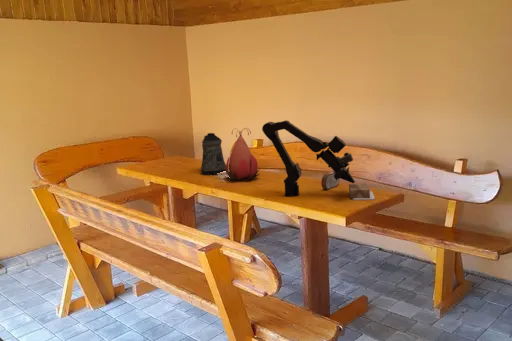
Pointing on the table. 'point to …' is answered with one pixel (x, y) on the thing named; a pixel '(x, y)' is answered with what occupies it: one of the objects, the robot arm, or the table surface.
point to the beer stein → (212, 155)
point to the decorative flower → (241, 161)
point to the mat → (366, 198)
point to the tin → (329, 180)
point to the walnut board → (359, 191)
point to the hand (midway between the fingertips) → (354, 182)
